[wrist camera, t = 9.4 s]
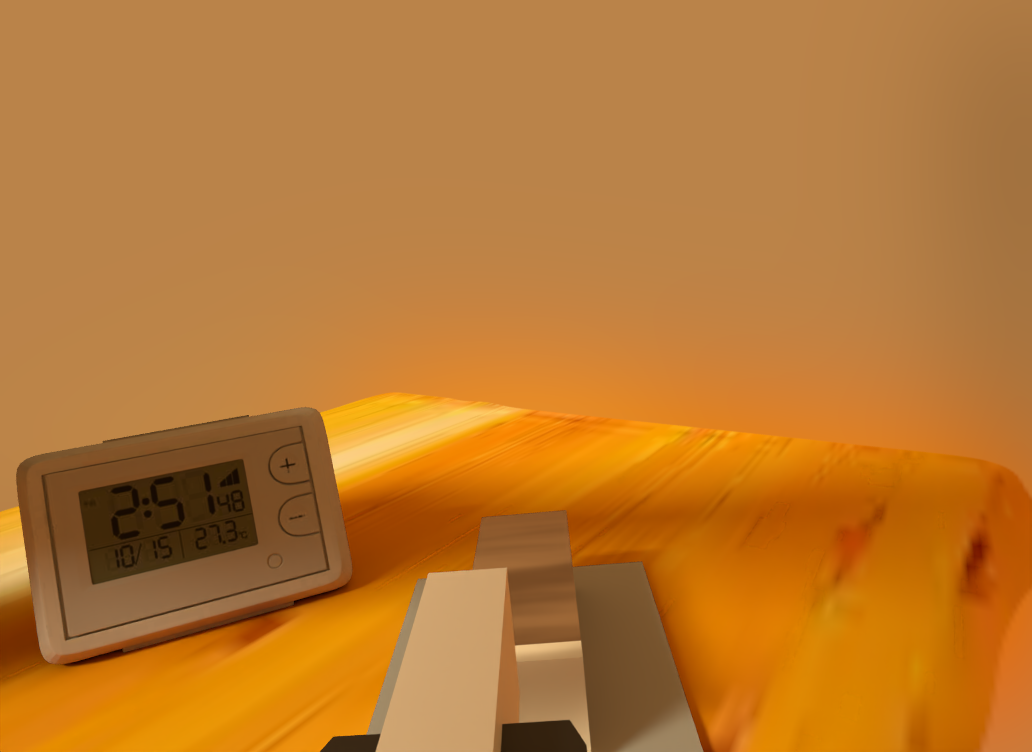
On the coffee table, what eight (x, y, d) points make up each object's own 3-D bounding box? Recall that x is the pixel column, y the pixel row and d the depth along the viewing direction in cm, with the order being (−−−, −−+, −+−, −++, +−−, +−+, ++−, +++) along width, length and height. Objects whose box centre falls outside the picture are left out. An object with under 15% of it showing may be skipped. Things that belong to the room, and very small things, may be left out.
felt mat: (766, 957, 19) (766, 945, 19) (290, 982, 19) (288, 971, 19) (642, 567, 40) (641, 561, 40) (418, 585, 41) (418, 579, 41)
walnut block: (582, 657, 24) (566, 510, 37) (455, 666, 25) (482, 517, 37) (592, 768, 25) (573, 587, 38) (469, 776, 26) (490, 594, 38)
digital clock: (25, 684, 35) (-29, 483, 33) (93, 596, 44) (54, 433, 42) (353, 619, 38) (324, 432, 36) (356, 550, 47) (332, 395, 45)
